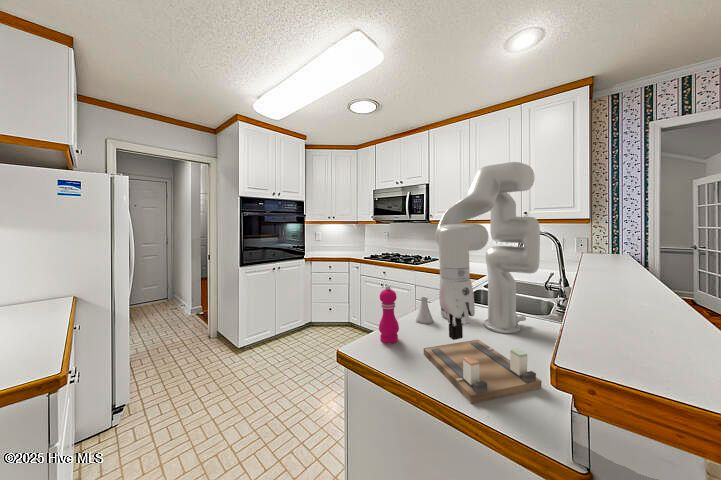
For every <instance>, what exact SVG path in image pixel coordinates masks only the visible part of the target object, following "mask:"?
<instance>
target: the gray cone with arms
mask: <svg viewBox="0 0 721 480" xmlns="http://www.w3.org/2000/svg"><path fill="white" fill-rule="evenodd" d="M428 299H429V297H428V296H420V305H419V311H418V312H417V316H416V319H415V322H417V323H419V324H426V325H429V324H430V325H431V324H432V323H434V319H433V317H432V314H431V311H430V308H429V305H428Z"/></svg>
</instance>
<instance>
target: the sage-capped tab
mask: <svg viewBox="0 0 721 480" xmlns="http://www.w3.org/2000/svg"><path fill="white" fill-rule="evenodd" d="M509 352H510V353H509V355H510V357H509V360H510V370H512V371H513V372H515V373H516V374H518V375H519V376H520V375H522V373H524V372H528V353H527V352H525V351H523V350H521V349H520V348H514V349H509Z"/></svg>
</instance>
